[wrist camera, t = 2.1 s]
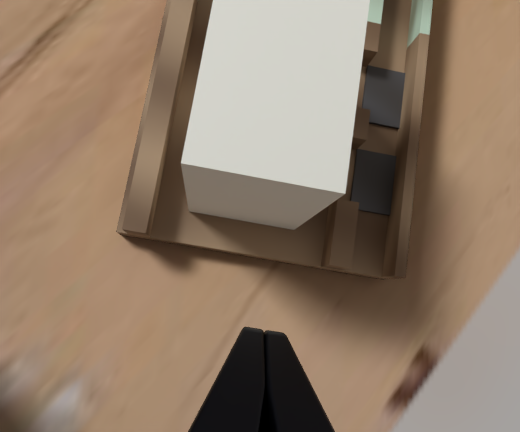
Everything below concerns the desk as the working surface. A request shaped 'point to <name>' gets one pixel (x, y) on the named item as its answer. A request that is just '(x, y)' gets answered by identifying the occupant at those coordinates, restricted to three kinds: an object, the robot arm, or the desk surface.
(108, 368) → the desk surface
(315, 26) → the block
